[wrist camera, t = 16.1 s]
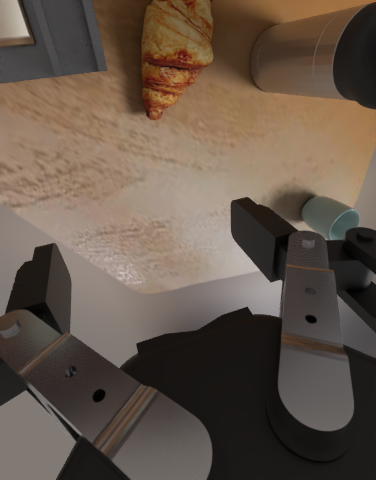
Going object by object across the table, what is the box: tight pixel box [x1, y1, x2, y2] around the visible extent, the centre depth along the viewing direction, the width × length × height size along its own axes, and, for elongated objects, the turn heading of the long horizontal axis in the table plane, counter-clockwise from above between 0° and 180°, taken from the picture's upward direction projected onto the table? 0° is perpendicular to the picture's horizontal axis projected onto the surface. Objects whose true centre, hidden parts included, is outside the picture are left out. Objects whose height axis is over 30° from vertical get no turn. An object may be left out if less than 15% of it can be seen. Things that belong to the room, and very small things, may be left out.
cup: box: [302, 196, 360, 240], centre depth 61 cm, size 8×8×10 cm
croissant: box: [141, 0, 213, 120], centre depth 37 cm, size 21×10×8 cm, turn 157°
